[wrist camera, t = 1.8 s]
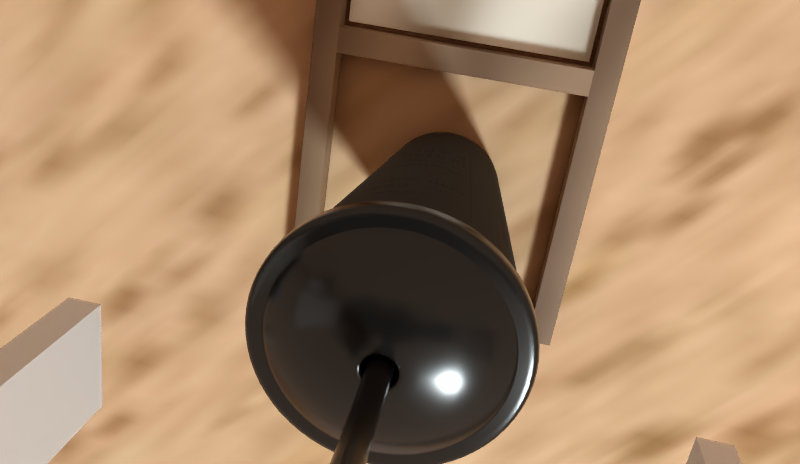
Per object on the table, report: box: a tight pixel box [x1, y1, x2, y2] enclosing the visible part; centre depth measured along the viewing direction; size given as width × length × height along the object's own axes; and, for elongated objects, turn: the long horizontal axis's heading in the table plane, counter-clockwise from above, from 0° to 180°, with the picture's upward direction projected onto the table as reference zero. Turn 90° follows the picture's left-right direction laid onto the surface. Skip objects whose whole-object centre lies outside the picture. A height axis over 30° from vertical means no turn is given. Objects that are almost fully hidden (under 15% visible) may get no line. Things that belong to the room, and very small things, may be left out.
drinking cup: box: [245, 132, 539, 464], centre depth 22 cm, size 8×8×20 cm
